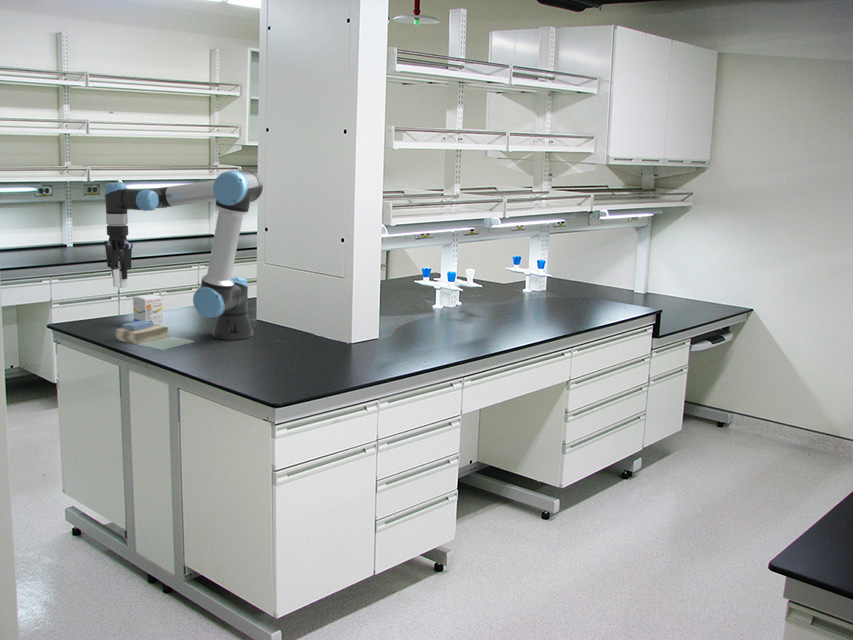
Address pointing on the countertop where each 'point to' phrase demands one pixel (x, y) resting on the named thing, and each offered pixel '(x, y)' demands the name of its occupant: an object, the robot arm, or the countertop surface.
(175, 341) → the mat
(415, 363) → the countertop surface
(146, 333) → the beige flat block
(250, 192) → the robot arm
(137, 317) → the ink box
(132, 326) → the blue flat block
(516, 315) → the countertop surface
